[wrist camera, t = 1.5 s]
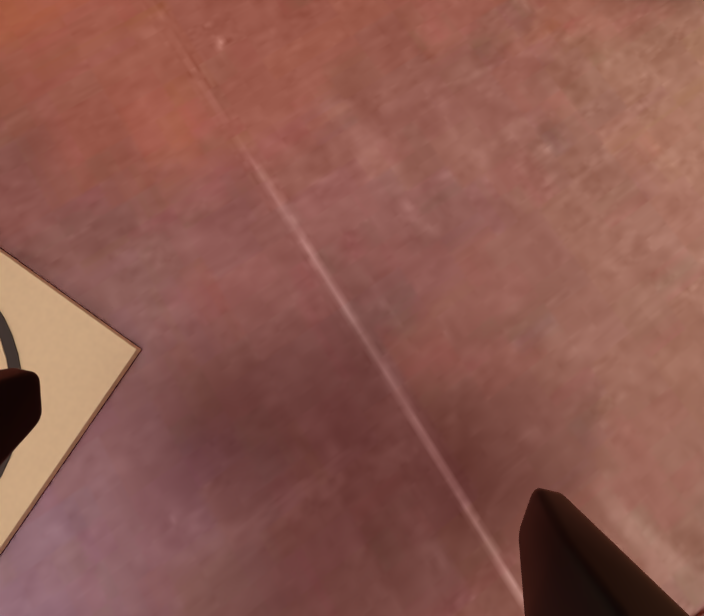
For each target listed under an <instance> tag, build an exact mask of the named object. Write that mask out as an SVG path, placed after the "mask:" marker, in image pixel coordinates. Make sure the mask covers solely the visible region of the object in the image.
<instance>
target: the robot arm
mask: <svg viewBox="0 0 704 616" xmlns="http://www.w3.org/2000/svg"><path fill="white" fill-rule="evenodd" d="M41 413H42V405H41V390H40V379H39V377H38V375H37V374H36V373H35V372H32V371H28V370H23V369H19V368H7V369H2V370H0V466H1V464H2V463H3V462H4V461H5V460H6V459H7V458H8V456H9V455H10V454H11V453H12V452H13V451H14V450H15V449H16V447H17V446H18V445H19V444H20V443H21V442H22V441H23V440H24V438H25V437H26V436H27V435H28V434H29V433H30V432H31V431H32V429H33V428H34V427H35V426H36V425H37V423H38V422H39V420H40V417H41ZM519 548H520V560H521V573H522V586H523V598H524V611H525V616H689V615H688V614H687V613H686V612H685V611H684V610H683V609H682V608H681V607H680V606H679V605H678V604H677V603H676V602H675V601H674V600H672V599H671V598H670V597H669V596H668V595H667V594H666V593H665V592H664V591H663V590H662V589H661V588H660V587H659V586H658V585H657V584H656V583H655V582H654V581H653V580H652V579H651V578H649V577H648V576H647V575H646V574H645V573H644V572H643V571H642V570H641V569H640V568H639V567H638V566H637V565H636V564H635V563H634V562H633V561H632V560H631V559H630V558H629V557H628V556H627V555H625V554H624V553H623V552H622V551H621V550H620V549H619V548H618V547H617V546H616V545H615V544H614V543H613V542H612V541H611V540H610V539H609V538H608V537H607V536H606V535H605V534H604V533H603V532H601V531H600V530H599V529H598V528H597V527H596V526H595V525H594V524H593V523H592V522H591V521H590V520H589V519H588V518H587V517H586V516H585V515H584V514H583V513H582V512H581V511H580V510H579V509H577V508H576V507H575V506H574V505H573V504H572V503H571V502H570V501H569V500H568V499H567V498H566V497H565V496H564V495H563V494H561V493H558V492H554V491H550V490H545V489H541V488H538V489H536V490H534V492H533V493H532V495H531V498H530V501H529V504H528V506H527V509H526V512H525V515H524V518H523V520H522V523H521V526H520V531H519Z"/></svg>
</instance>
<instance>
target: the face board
mask: <svg viewBox="0 0 704 616" xmlns="http://www.w3.org/2000/svg"><path fill="white" fill-rule="evenodd" d="M140 351H141V349H140V348H139V347H137V346H136V345H134V344H133V343H132V342H130V341H129V340H127V339H126V338H125V337H123V336H122V335H120V334H119V333H118V332H116V331H115V330H114V329H112V328H111V327H109V326H108V325H107V324H105V323H104V322H102V321H101V320H100V319H98V318H97V317H95V316H94V315H93V314H91V313H90V312H88V311H87V310H86V309H84V308H83V307H81V306H80V305H79V304H77V303H76V302H74V301H73V300H72V299H70V298H69V297H67V296H66V295H65V294H63V293H62V292H61V291H59V290H58V289H56V288H55V287H54V286H52V285H51V284H49V283H48V282H47V281H45V280H44V279H42V278H41V277H40V276H38V275H37V274H35V273H34V272H33V271H31V270H30V269H28V268H27V267H26V266H24V265H23V264H21V263H20V262H19V261H17V260H16V259H14V258H13V257H12V256H10V255H9V254H8V253H6V252H5V251H3V250H2V249H1V248H0V370H2V369H7V368H19V369H23V370H28V371H32V372H35V373H36V374H37V375H38V377H39V379H40V390H41V405H42V413H41V417H40V420H39V422H38V423H37V425H36V426H35V427H34V428H33V429H32V431H31V432H30V433H29V434H28V435H27V436H26V437H25V438H24V440H23V441H22V442H21V443H20V444H19V445H18V446H17V447H16V449H15V450H14V451H13V452H12V453H11V454H10V455H9V456H8V458H7V459H6V460H5V461H4V462H3V463H2V464H1V466H0V554H1V553H2V551H3V550H4V549H5V547H6V546H7V544H8V543H9V541H10V540H11V538H12V537H13V535H14V534H15V533H16V531H17V530H18V528H19V527H20V525H21V524H22V522H23V521H24V519H25V518H26V517H27V515H28V514H29V512H30V511H31V509H32V508H33V506H34V505H35V503H36V502H37V501H38V499H39V498H40V496H41V495H42V493H43V492H44V490H45V489H46V487H47V486H48V485H49V483H50V482H51V480H52V479H53V477H54V476H55V474H56V473H57V471H58V470H59V468H60V467H61V466H62V464H63V463H64V461H65V460H66V458H67V457H68V455H69V454H70V452H71V451H72V450H73V448H74V447H75V445H76V444H77V442H78V441H79V439H80V438H81V436H82V435H83V434H84V432H85V431H86V429H87V428H88V426H89V425H90V423H91V422H92V420H93V419H94V418H95V416H96V415H97V413H98V412H99V410H100V409H101V407H102V406H103V404H104V403H105V402H106V400H107V399H108V397H109V396H110V394H111V393H112V391H113V390H114V388H115V387H116V386H117V384H118V383H119V381H120V380H121V378H122V377H123V375H124V374H125V372H126V371H127V369H128V368H129V367H130V365H131V364H132V362H133V361H134V359H135V358H136V356H137V355H138V353H139V352H140Z"/></svg>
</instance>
